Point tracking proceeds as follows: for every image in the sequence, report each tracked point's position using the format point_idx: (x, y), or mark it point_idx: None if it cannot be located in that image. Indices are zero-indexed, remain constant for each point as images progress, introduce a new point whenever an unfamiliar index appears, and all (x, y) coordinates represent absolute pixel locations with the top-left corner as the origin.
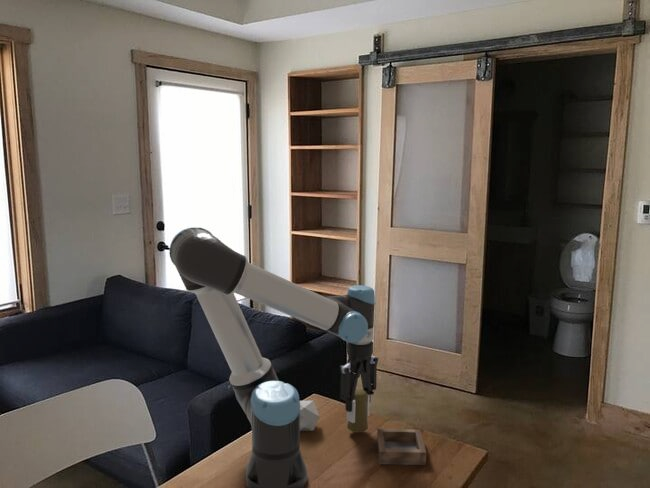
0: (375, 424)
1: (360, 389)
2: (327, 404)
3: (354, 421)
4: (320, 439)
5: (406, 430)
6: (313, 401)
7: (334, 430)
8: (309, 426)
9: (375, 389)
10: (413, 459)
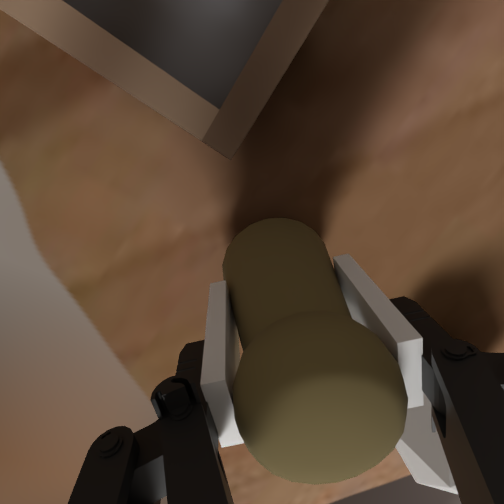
0: (148, 282)
1: (283, 466)
2: (240, 479)
3: (340, 258)
4: (434, 284)
5: (55, 24)
6: (451, 481)
7: None
8: None
9: (107, 431)
10: None
